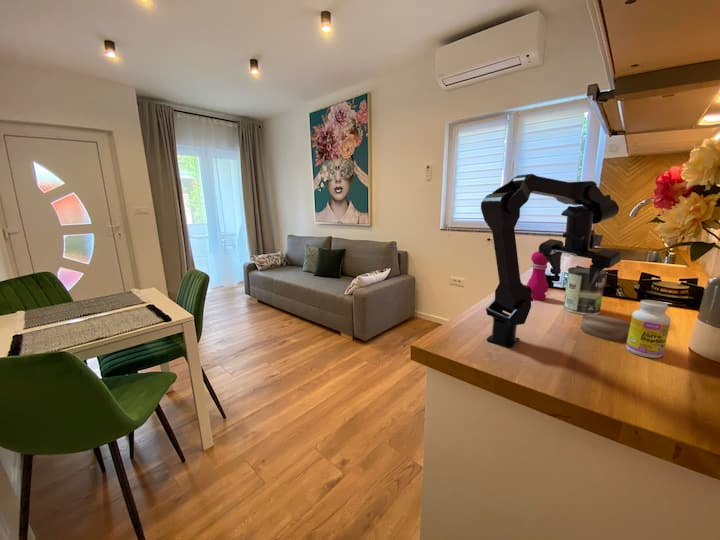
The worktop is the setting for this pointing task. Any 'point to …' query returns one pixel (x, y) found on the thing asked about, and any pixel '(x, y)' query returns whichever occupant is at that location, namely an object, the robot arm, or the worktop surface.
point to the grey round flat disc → (605, 327)
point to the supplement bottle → (649, 329)
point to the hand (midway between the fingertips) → (573, 278)
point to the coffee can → (583, 291)
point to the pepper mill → (538, 277)
